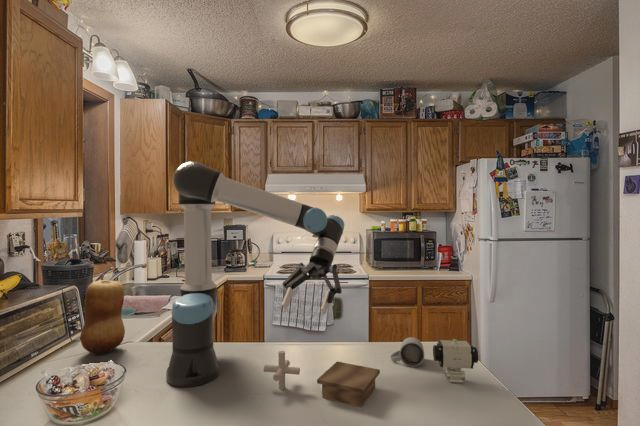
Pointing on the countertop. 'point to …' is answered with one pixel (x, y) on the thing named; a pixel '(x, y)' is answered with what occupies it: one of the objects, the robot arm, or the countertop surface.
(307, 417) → the countertop surface
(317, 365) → the countertop surface
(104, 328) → the butternut squash
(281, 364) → the pipe connector
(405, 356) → the ceramic mug
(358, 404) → the walnut stand
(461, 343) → the pneumatic valve
